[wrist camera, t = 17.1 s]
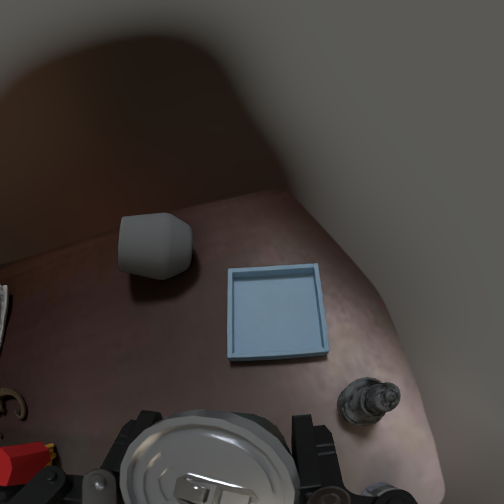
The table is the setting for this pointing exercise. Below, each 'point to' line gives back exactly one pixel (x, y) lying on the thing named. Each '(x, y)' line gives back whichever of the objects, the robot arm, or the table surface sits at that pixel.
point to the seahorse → (7, 391)
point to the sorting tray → (275, 313)
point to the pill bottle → (378, 489)
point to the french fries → (23, 462)
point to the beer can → (210, 461)
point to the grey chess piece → (367, 401)
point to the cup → (154, 245)
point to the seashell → (3, 310)
